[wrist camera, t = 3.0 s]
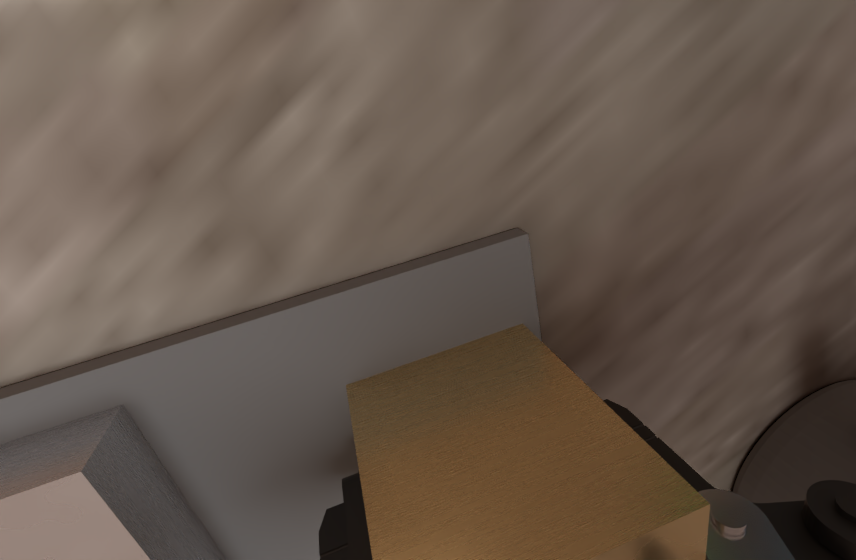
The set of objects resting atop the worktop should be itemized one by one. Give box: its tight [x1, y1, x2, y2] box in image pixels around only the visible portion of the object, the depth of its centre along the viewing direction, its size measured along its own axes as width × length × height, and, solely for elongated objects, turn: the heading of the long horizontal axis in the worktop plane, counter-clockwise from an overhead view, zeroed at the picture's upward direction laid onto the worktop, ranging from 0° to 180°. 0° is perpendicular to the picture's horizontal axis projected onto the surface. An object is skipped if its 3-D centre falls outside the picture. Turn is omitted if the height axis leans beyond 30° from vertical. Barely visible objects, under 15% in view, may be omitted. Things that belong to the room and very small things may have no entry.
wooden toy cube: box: [346, 323, 710, 560], centre depth 10 cm, size 5×5×6 cm
